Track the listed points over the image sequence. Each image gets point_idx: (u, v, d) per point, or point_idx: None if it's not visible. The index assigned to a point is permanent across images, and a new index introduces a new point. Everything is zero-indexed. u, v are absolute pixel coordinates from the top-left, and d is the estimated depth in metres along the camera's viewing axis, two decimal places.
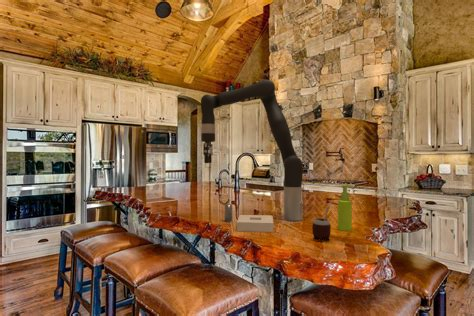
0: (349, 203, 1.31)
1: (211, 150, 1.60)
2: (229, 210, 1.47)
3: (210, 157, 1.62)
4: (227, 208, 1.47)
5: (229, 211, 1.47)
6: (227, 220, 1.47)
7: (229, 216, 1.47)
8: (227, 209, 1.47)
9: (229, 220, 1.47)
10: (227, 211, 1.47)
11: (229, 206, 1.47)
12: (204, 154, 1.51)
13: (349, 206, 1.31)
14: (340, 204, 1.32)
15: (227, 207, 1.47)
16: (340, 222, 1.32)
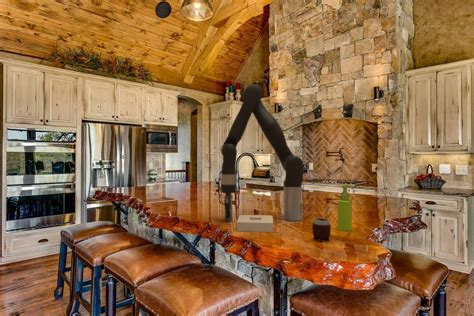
0: (349, 203, 1.31)
1: None
2: None
3: None
4: None
5: None
6: (227, 220, 1.47)
7: None
8: None
9: (229, 220, 1.47)
10: None
11: None
12: (226, 209, 1.44)
13: (349, 206, 1.31)
14: (340, 204, 1.32)
15: None
16: (340, 222, 1.32)
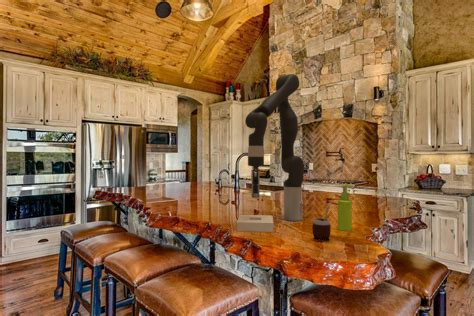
0: (349, 203, 1.31)
1: None
2: None
3: None
4: None
5: None
6: (254, 196, 1.35)
7: None
8: None
9: (257, 196, 1.35)
10: None
11: None
12: (254, 183, 1.32)
13: (349, 206, 1.31)
14: (340, 204, 1.32)
15: None
16: (340, 222, 1.32)
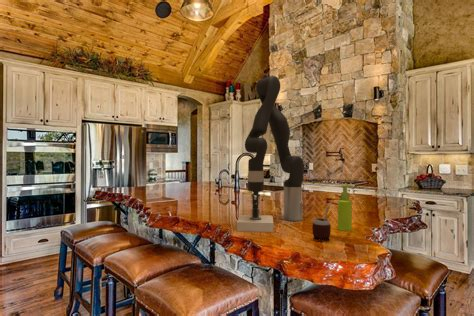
0: (349, 203, 1.31)
1: None
2: None
3: None
4: None
5: None
6: None
7: None
8: None
9: None
10: None
11: None
12: (253, 208, 1.31)
13: (349, 206, 1.31)
14: (340, 204, 1.32)
15: None
16: (340, 222, 1.32)
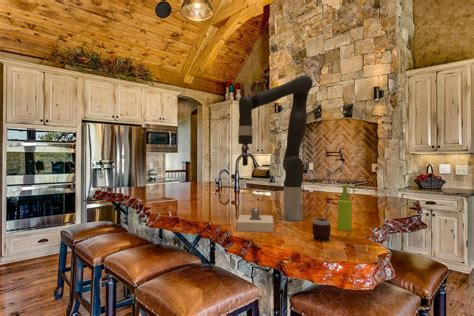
0: (349, 203, 1.31)
1: (248, 152, 1.58)
2: (256, 215, 1.35)
3: (246, 159, 1.60)
4: (254, 213, 1.35)
5: (256, 216, 1.35)
6: None
7: None
8: (254, 214, 1.35)
9: None
10: (254, 216, 1.35)
11: (256, 211, 1.35)
12: (243, 157, 1.49)
13: (349, 206, 1.31)
14: (340, 204, 1.32)
15: (254, 211, 1.35)
16: (340, 222, 1.32)
